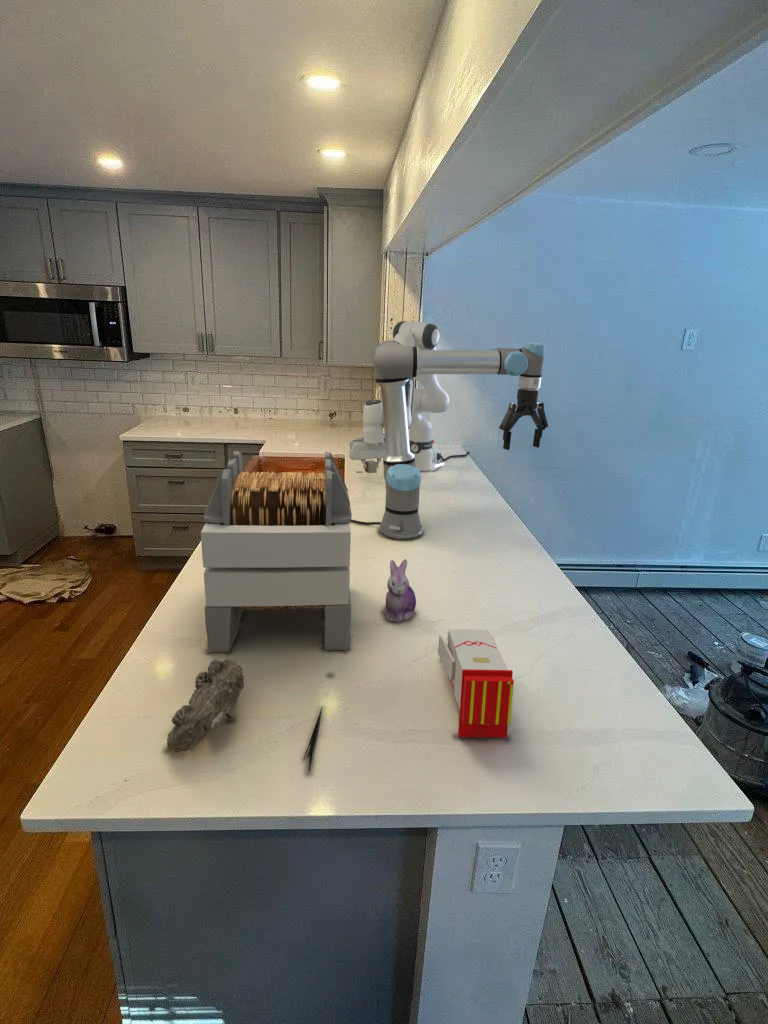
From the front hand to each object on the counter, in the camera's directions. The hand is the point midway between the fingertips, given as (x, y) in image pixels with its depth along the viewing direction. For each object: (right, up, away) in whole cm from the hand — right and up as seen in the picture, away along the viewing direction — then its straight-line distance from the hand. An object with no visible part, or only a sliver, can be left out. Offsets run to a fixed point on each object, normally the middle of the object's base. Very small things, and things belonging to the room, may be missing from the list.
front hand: (521, 448), depth 206 cm
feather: (-62, -63, -98) cm, 132 cm away
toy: (-32, -61, -88) cm, 111 cm away
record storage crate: (-76, -50, -62) cm, 109 cm away
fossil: (-83, -62, -98) cm, 143 cm away
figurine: (-46, -50, -59) cm, 90 cm away
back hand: (-56, -4, +46) cm, 73 cm away
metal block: (-56, -5, +47) cm, 73 cm away
